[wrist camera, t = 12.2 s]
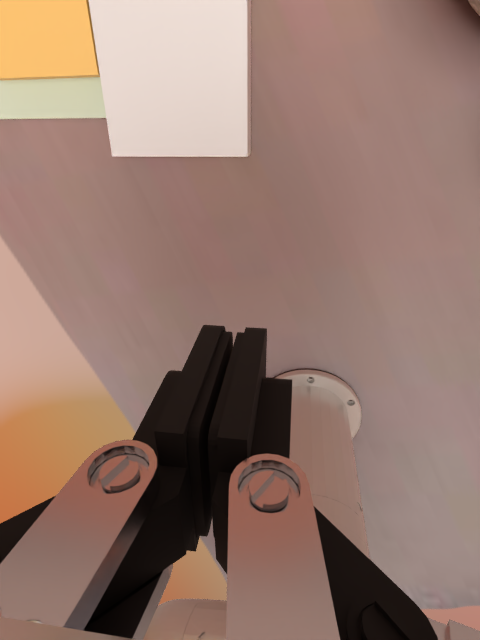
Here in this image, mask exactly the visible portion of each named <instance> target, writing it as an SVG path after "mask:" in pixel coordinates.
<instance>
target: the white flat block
mask: <svg viewBox="0 0 480 640" xmlns="http://www.w3.org/2000/svg"><path fill="white" fill-rule="evenodd" d="M89 7H90V13H91V20H92V27H93V33H94V40H95V46H96V53H97V59H98V66H99V73H100V79H101V86H102V92H103V99H104V105H105V112H106V119H107V125H108V132H109V138H110V145H111V151H112V156H139V157H248V156H249V155H250V154H251V0H89Z"/></svg>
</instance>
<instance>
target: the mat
mask: <svg viewBox="0 0 480 640" xmlns="http://www.w3.org/2000/svg"><path fill="white" fill-rule="evenodd" d="M51 118H106V112H105V105H104V99H103V92H102V86H101V79H100V77H87V78H59V79H32V80H4V81H2V80H0V119H51Z"/></svg>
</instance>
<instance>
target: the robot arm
mask: <svg viewBox="0 0 480 640" xmlns="http://www.w3.org/2000/svg"><path fill="white" fill-rule="evenodd" d="M266 344H267V329H264V328H247V327H246V329H245V332H244V333H241V332H238V333H237V336H236V339H235V342H234V346H233V337H232V332H225V327H224V326H213V325H203V327H202V329H201V331H200V333H199V335H198V338H197V340H196V342H195V344H194V346H193V348H192V350H191V353H190V355H189V357H188V359H187V361H186V363H185V366H184V368H183V370H182V371H172V370H171V371H169V372H168V373H167V374H166V376H165V378H164V380H163V382H162V384H161V386H160V388H159V389H158V391H157V393H156V395H155V397H154V399H153V401H152V403H151V405H150V407H149V409H148V411H147V413H146V415H145V416H144V418H143V420H142V422H141V424H140V426H139V428H138V430H137V432H136V434H135V436H134V438H133V440H122V441H115V442H113V443H110V444H107V445H104V446H103V447H102V448H99V449H98V450H96V451H94V453H92V454H91V455H90V456H89V457H88V458H87V459H86V460H85V461H84V463H83V464H82V465H81V466H80V467H79V469H78V470H77V471H76V472H75V474H74V475H73V476H72V477H71V478H70V480H69V481H68V482H67V483H66V485H65V486H64V487H63V488H62V489H61V491H60V492H59V493H58V494H57V495H56V496H55V497H52V498H50V499H48V500H46V501H44V502H43V503H40V504H38V505H36V506H34V507H32V508H31V509H29V510H27V511H25V512H23V513H21V514H19V515H17V516H15V517H13V518H11V519H9V520H7V521H5V522H3V523H1V524H0V640H480V631H478V630H476V629H473V628H471V627H468V626H465V625H463V624H460V623H457V622H455V621H452V620H449V622H448V624H447V625H445V624H443V623H440V622H437V621H435V620H432V619H430V618H427V617H426V615H425V614H424V613H423V612H422V611H421V610H420V608H419V607H418V606H417V605H416V604H415V603H414V602H413V601H412V600H411V599H410V598H409V597H408V596H407V595H406V594H405V593H404V592H403V591H402V590H401V589H400V588H399V587H398V586H397V585H396V584H395V583H394V582H393V581H392V580H391V579H390V578H388V577H387V576H386V575H385V574H384V573H383V572H382V571H381V570H380V569H379V568H378V567H377V566H376V565H375V564H374V563H373V562H372V561H371V560H370V555H369V549H368V543H367V536H366V529H365V523H364V516H363V510H362V503H361V496H360V490H359V483H358V477H357V470H356V464H355V457H354V450H353V444H352V438H353V437H354V436H355V435H356V433H357V432H358V430H359V427H360V424H361V418H362V412H361V407H360V403H359V400H358V397H357V396H356V394H355V392H354V391H353V390H352V388H351V387H350V386H349V385H348V384H347V383H345V382H344V381H342V380H341V379H339V378H338V377H336V376H333V375H331V374H329V373H325V372H322V371H317V370H296V371H291V372H287V373H284V374H282V375H279V376H277V377H276V378H266ZM212 518H213V533H214V538H215V548H216V559H217V561H218V562H219V563H220V565H221V566H222V568H223V569H224V571H225V572H226V574H227V601H224V600H208V599H176V600H171V601H168V602H165V603H163V604H161V605H159V606H158V604H159V602H160V599H161V597H162V595H163V592H164V590H165V588H166V585H167V583H168V581H169V578H170V575H171V572H172V568H173V563H174V562H176V561H177V560H179V559H180V558H181V557H183V556H184V555H185V554H186V551H187V550H189V551H196V548H197V544H198V540H199V536H206V537H207V536H208V533H209V529H210V524H211V520H212ZM157 606H158V607H157Z"/></svg>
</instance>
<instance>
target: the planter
mask: <svg viewBox="0 0 480 640" xmlns="http://www.w3.org/2000/svg"><path fill="white" fill-rule="evenodd" d="M468 2H469V3H470V5H471V6H472V8H473V9H474V10H475V11H476V13H477V14H478V15H479V16H480V0H468Z"/></svg>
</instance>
